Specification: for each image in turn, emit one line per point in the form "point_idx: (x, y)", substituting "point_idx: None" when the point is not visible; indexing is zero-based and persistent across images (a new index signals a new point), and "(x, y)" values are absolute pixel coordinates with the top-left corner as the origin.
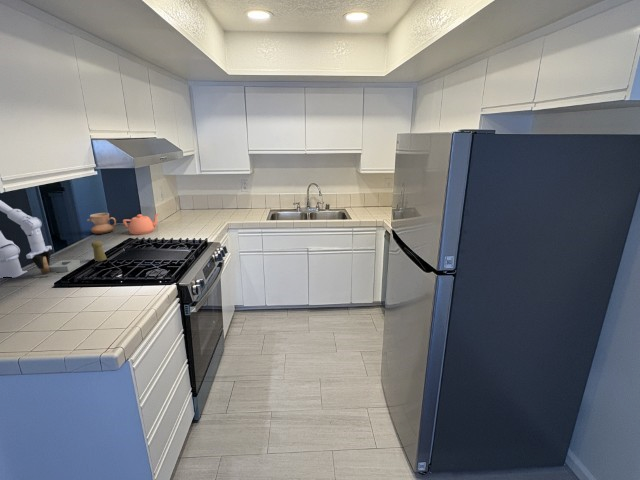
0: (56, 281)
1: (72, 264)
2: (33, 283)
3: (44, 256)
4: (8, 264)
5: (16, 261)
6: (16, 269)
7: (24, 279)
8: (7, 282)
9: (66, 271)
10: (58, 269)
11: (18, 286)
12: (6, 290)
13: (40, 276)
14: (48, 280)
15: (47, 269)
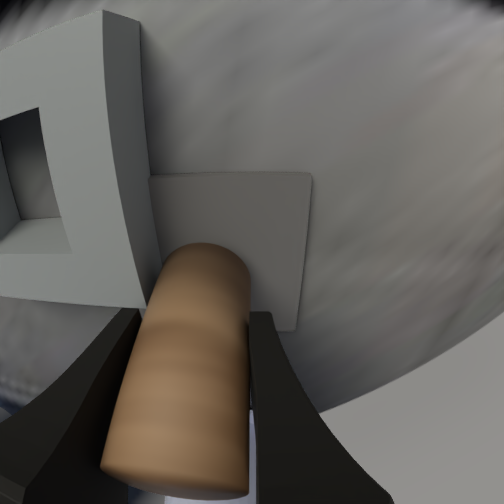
0: (473, 6)
1: (8, 51)
2: (461, 221)
3: (118, 471)
4: (255, 501)
5: (209, 501)
6: None
7: (320, 353)
8: (343, 399)
9: (139, 48)
10: (132, 158)
11: (467, 296)
12: (493, 316)
13: (301, 267)
14: (435, 105)
15: (211, 268)
